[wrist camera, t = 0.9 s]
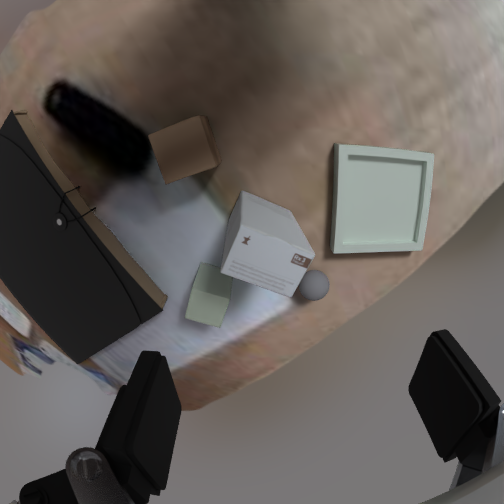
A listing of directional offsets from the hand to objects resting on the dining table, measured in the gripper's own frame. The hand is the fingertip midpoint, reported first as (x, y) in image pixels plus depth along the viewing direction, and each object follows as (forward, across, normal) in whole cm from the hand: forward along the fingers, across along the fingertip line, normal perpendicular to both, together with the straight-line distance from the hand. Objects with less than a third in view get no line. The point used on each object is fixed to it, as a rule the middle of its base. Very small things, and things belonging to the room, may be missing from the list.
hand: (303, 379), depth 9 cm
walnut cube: (+24, +8, -7) cm, 26 cm away
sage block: (+25, +7, +9) cm, 27 cm away
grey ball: (+24, -5, +9) cm, 26 cm away
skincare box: (+24, +1, +1) cm, 24 cm away
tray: (+24, -13, -1) cm, 27 cm away
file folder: (+25, +32, +3) cm, 41 cm away
